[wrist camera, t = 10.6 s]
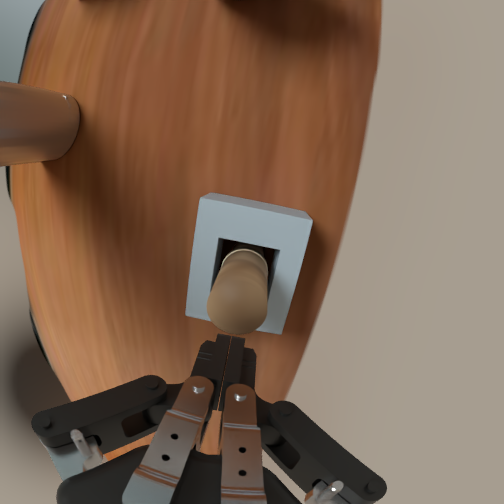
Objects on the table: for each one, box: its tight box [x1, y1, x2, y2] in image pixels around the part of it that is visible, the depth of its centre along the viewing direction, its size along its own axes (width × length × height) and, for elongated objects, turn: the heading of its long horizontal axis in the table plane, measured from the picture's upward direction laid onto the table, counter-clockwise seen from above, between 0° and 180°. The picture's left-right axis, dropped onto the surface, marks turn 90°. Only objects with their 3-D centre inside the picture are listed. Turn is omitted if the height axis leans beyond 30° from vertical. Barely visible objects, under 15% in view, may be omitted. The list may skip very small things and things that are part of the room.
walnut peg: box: [206, 242, 268, 335], centre depth 24 cm, size 4×4×12 cm
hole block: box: [185, 192, 313, 335], centre depth 27 cm, size 12×10×5 cm
